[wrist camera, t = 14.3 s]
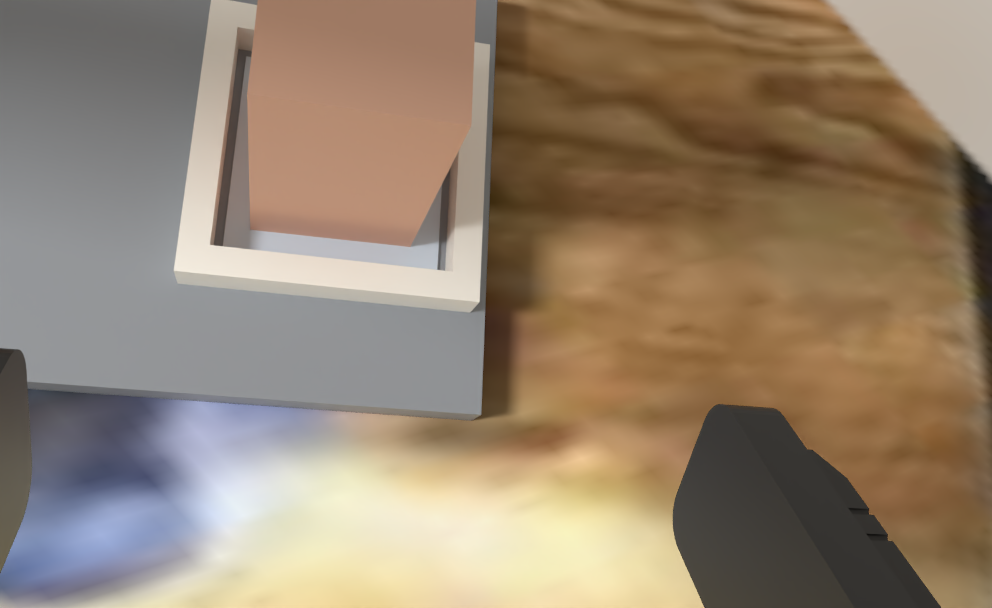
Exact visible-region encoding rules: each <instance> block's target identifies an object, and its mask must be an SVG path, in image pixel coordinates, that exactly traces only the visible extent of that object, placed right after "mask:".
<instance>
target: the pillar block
mask: <svg viewBox="0 0 992 608" xmlns="http://www.w3.org/2000/svg"><path fill="white" fill-rule="evenodd" d="M475 17H476V0H258V2H257V11H256V20H255V29H254V38H253V47H252V55H251V64H250V73H249V82H248V91H247V110H248V154H249V198H250V230H257V231H267V232H276V233H285V234H294V235H304V236H313V237H322V238H331V239H341V240H350V241H359V242H369V243H378V244H387V245H396V246H406V247H411V245H412V243H413V241H414V239H415V237H416V235H417V233H418V231H419V229H420V227H421V225H422V223H423V221H424V219H425V217H426V215H427V213H428V211H429V209H430V207H431V205H432V203H433V201H434V199H435V197H436V195H437V193H438V191H439V189H440V187H441V185H442V183H443V181H444V179H445V177H446V175H447V173H448V171H449V169H450V167H451V165H452V163H453V161H454V159H455V157H456V155H457V153H458V151H459V149H460V147H461V145H462V143H463V141H464V139H465V137H466V135H467V133H468V131H469V129H470V127H471V122H472V96H473V70H474V43H475Z"/></svg>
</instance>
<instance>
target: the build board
mask: <svg viewBox="0 0 992 608" xmlns="http://www.w3.org/2000/svg"><path fill="white" fill-rule="evenodd" d="M257 2H258V0H0V348H6V349H18V350H21V351H22V353H23V355H24V358H25V362H26V370H27V387H28V389H37V390H51V391H65V392H79V393H93V394H107V395H121V396H135V397H149V398H163V399H177V400H191V401H205V402H219V403H233V404H247V405H261V406H275V407H289V408H303V409H317V410H332V411H346V412H360V413H374V414H388V415H402V416H416V417H430V418H444V419H458V420H473V419H475V418H477V417H478V416H480V415H481V407H482V382H483V356H484V330H485V305H486V279H487V253H488V228H489V202H490V176H491V151H492V125H493V99H494V74H495V48H496V22H497V0H476V17H475V43H474V70H473V96H472V122H471V127H470V129H469V131H468V133H467V135H466V137H465V139H464V141H463V143H462V145H461V147H460V149H459V151H458V153H457V155H456V157H455V159H454V161H453V163H452V165H451V167H450V169H449V171H448V173H447V175H446V177H445V179H444V181H443V183H442V185H441V187H440V189H439V191H438V193H437V195H436V197H435V199H434V201H433V203H432V205H431V207H430V209H429V211H428V213H427V215H426V217H425V219H424V221H423V223H422V225H421V227H420V229H419V231H418V233H417V235H416V237H415V239H414V241H413V243H412V245H411V247H406V246H396V245H387V244H378V243H369V242H359V241H350V240H341V239H331V238H322V237H313V236H304V235H294V234H285V233H276V232H267V231H257V230H250V198H249V154H248V110H247V91H248V82H249V73H250V64H251V55H252V47H253V38H254V29H255V20H256V11H257Z"/></svg>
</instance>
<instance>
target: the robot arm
mask: <svg viewBox="0 0 992 608" xmlns="http://www.w3.org/2000/svg"><path fill="white" fill-rule="evenodd" d="M31 475H32V454H31V437H30V420H29V404H28V387H27V370H26V362H25V358H24V355H23V353H22V351H21V350H18V349H6V348H0V573H1V570H2V568H3V566H4V563H5V561H6V558H7V556H8V554H9V551H10V549H11V546H12V544H13V542H14V539H15V537H16V534H17V532H18V530H19V527H20V525H21V522H22V520H23V517H24V514H25V510H26V506H27V502H28V497H29V492H30V485H31ZM673 530H674V536H675V540H676V544H677V546H678V549H679V551H680V553H681V556H682V558H683V560H684V562H685V565H686V567H687V569H688V571H689V574H690V576H691V578H692V580H693V583H694V585H695V587H696V589H697V592H698V594H699V596H700V598H701V601H702V603H703V605H704V607H705V608H941V607H940V605H939V604H938V603H937V601H936V600H935V598H934V597H933V596H932V594H931V593H930V592H929V590H928V589H927V587H926V586H925V585H924V583H923V582H922V581H921V579H920V578H919V577H918V575H917V574H916V572H915V571H914V570H913V568H912V567H911V566H910V564H909V563H908V561H907V560H906V559H905V557H904V556H903V555H902V553H901V552H900V551H899V549H898V548H897V546H896V545H895V544H894V542H893V541H888V539H887V536H888V534H887V533H886V531H885V530H884V529H883V527H882V526H881V525H880V523H879V522H878V520H877V519H876V518H875V516H874V515H869V508H868V507H867V505H866V504H865V503H864V501H863V500H862V498H861V497H860V496H859V494H858V493H857V492H856V490H855V489H854V488H853V486H852V485H851V483H850V482H849V481H848V479H847V478H846V477H845V476H844V475H842V474H841V473H840V472H839V471H837V470H836V469H835V468H834V467H833V466H831V465H830V464H829V463H828V462H826V461H825V460H824V459H823V458H822V457H820V456H819V455H818V454H817V453H815V452H814V451H813V450H807V449H806V447H805V446H804V445H803V443H802V442H801V440H800V439H799V437H798V436H797V435H796V433H795V432H794V430H793V429H792V427H791V426H790V425H789V423H788V422H787V420H786V419H785V418H784V416H783V415H782V414H781V413H780V412H779V411H778V410H776V409H774V408H764V407H750V406H737V405H724V404H718V405H716V406H714V407H713V408H712V409H711V410H710V411H709V413H708V414H707V416H706V418H705V421H704V423H703V426H702V429H701V431H700V434H699V436H698V439H697V442H696V444H695V447H694V450H693V452H692V455H691V458H690V460H689V463H688V465H687V468H686V471H685V473H684V476H683V479H682V481H681V484H680V487H679V489H678V492H677V495H676V498H675V502H674V509H673Z"/></svg>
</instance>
